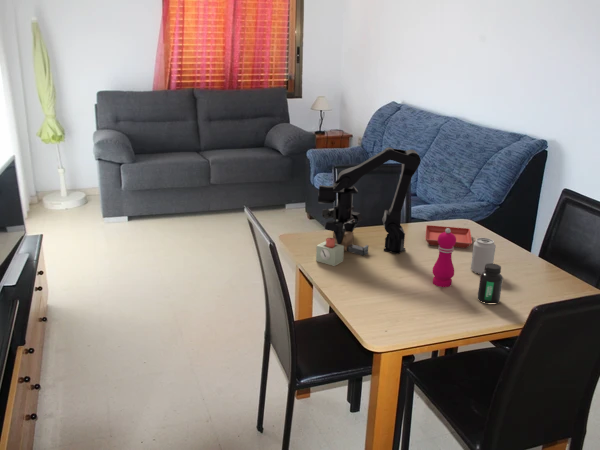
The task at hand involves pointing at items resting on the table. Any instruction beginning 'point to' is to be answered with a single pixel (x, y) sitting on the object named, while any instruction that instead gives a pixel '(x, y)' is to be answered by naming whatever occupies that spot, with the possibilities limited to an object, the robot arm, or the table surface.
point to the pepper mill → (444, 260)
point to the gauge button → (330, 242)
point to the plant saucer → (460, 233)
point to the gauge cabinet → (329, 254)
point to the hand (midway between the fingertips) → (342, 242)
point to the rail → (358, 249)
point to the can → (482, 254)
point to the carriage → (345, 239)
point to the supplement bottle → (490, 284)
